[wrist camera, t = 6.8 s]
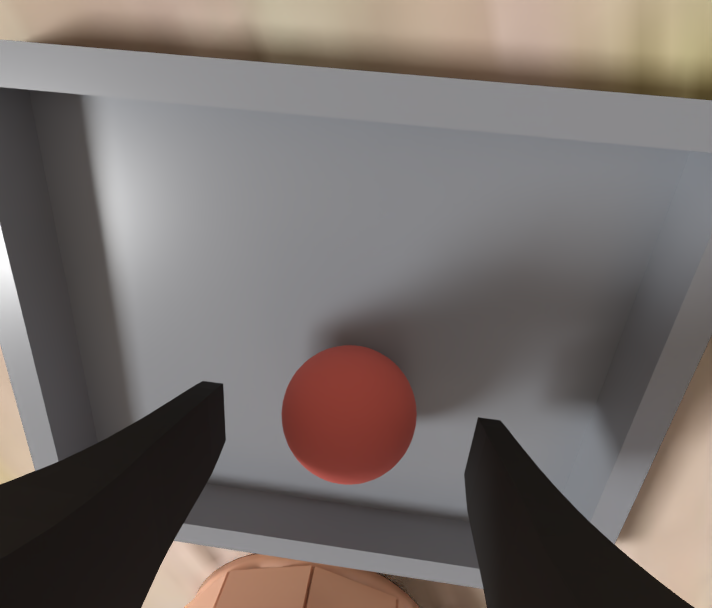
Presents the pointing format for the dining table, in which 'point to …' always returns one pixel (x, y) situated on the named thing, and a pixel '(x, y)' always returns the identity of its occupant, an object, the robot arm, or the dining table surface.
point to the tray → (351, 278)
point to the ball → (349, 414)
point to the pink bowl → (296, 586)
